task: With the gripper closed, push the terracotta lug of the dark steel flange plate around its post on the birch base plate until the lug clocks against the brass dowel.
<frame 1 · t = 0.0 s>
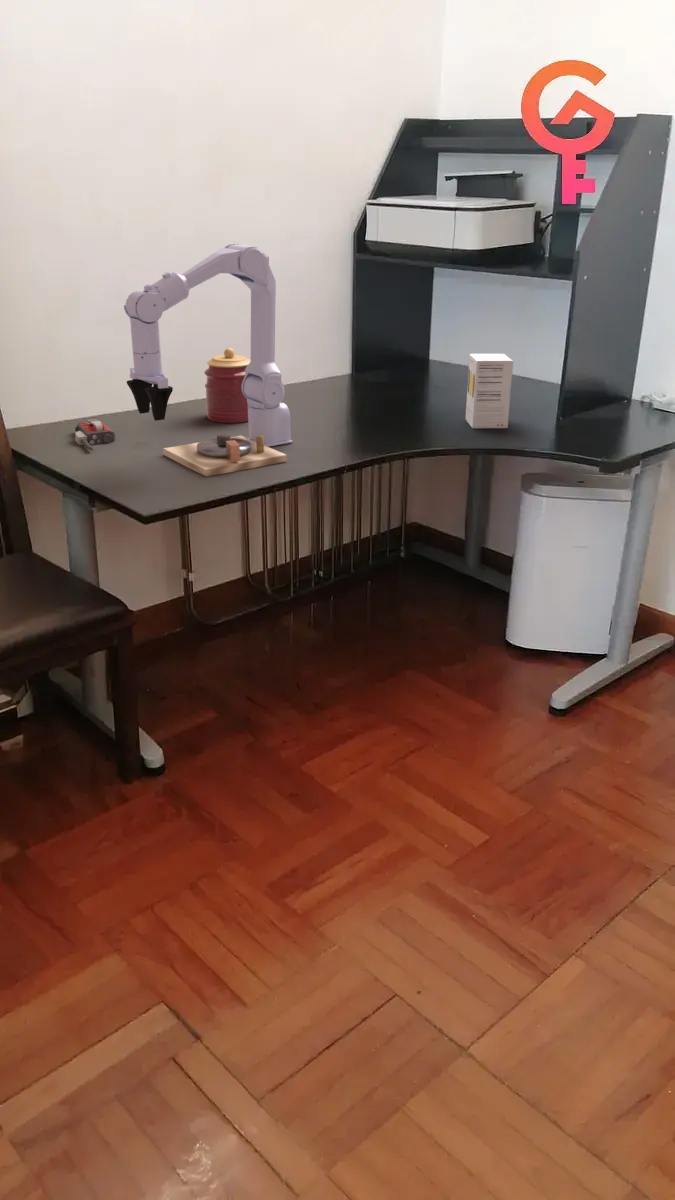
hand: (151, 416, 203), 10 cm above the table, fingers open, 7 cm apart
base plate: (224, 458, 210), on the table
flange: (226, 443, 207), point 4 cm above the table, hinge at 0.0°
supplement box: (486, 424, 240), on the table
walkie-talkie: (95, 443, 223), on the table
canister: (232, 418, 245), on the table
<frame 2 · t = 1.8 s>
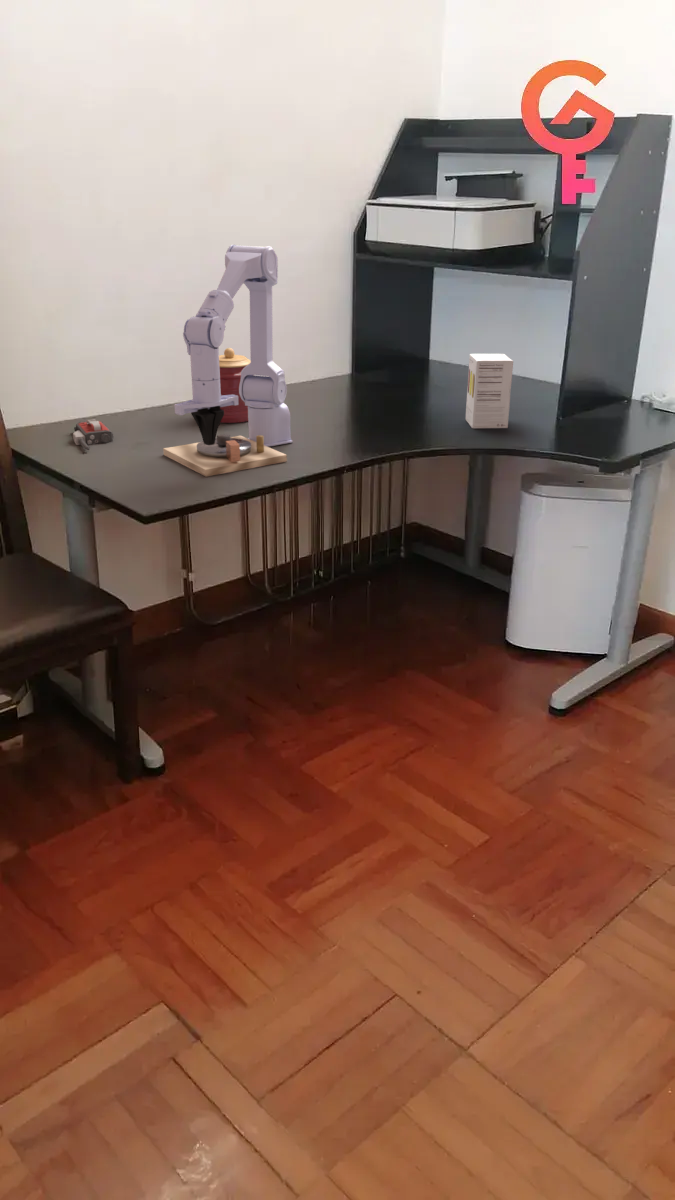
hand: (209, 444, 197), 6 cm above the table, fingers closed
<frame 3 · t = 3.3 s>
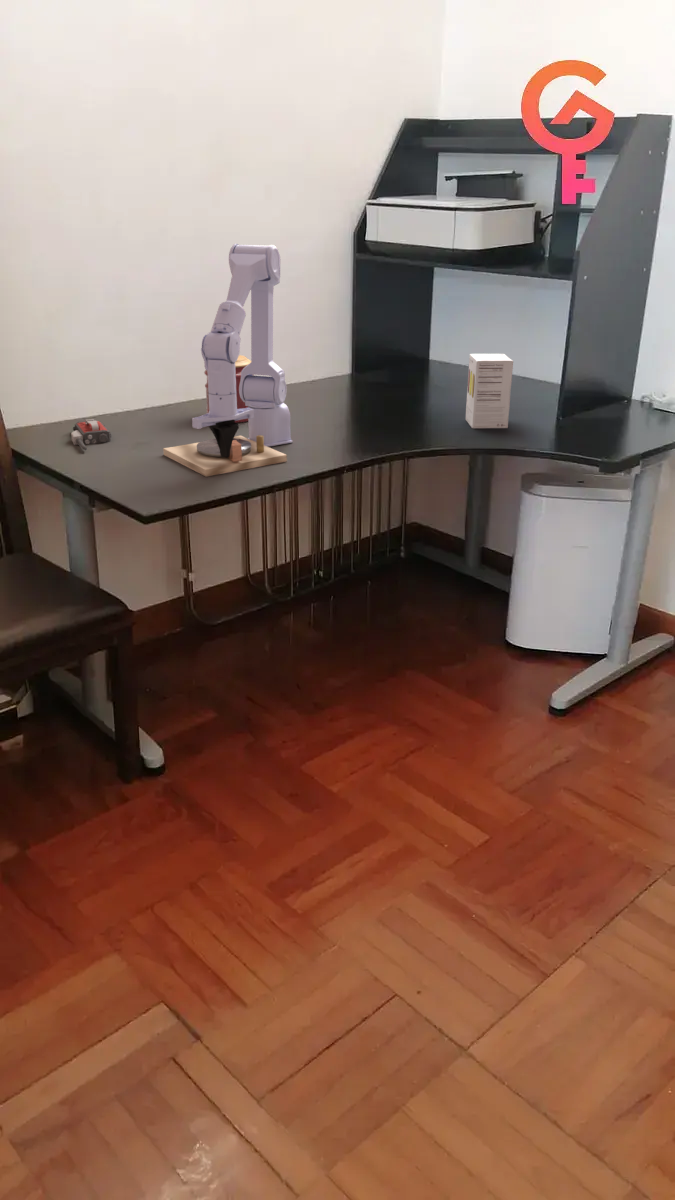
hand: (225, 456, 201), 3 cm above the table, fingers closed
flange: (226, 443, 207), point 4 cm above the table, hinge at 2.3°, touching gripper
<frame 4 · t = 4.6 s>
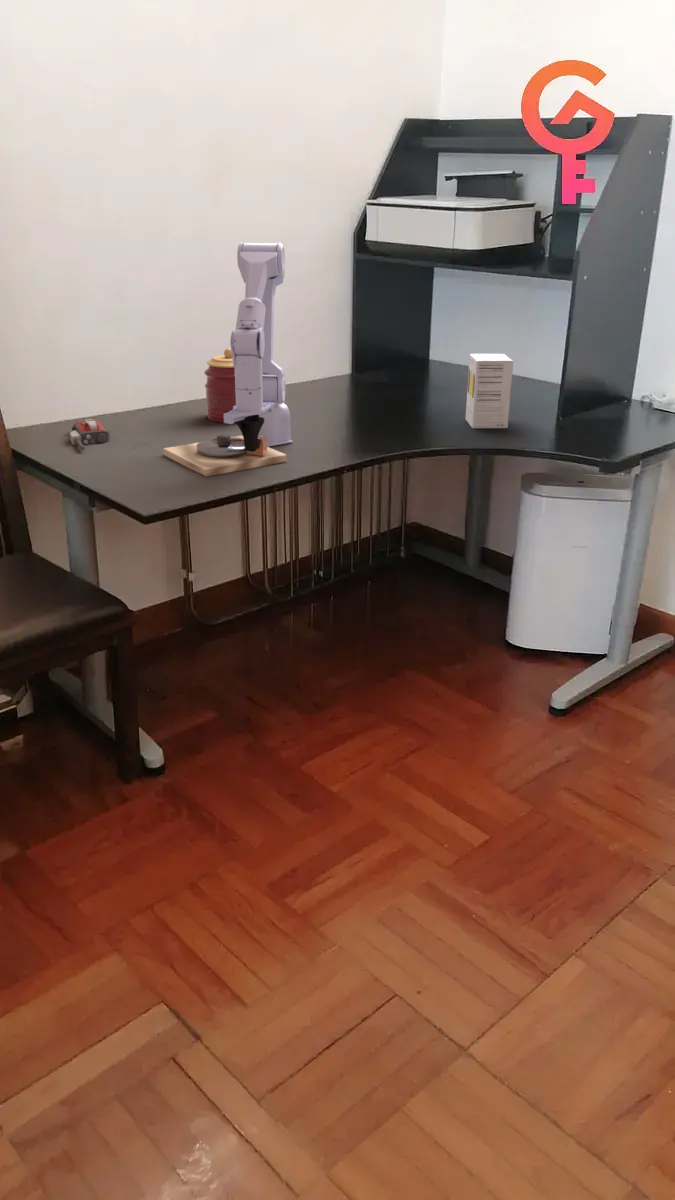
hand: (250, 450, 205), 3 cm above the table, fingers closed, pressing on flange
flange: (231, 442, 208), point 4 cm above the table, hinge at 48.2°, touching gripper
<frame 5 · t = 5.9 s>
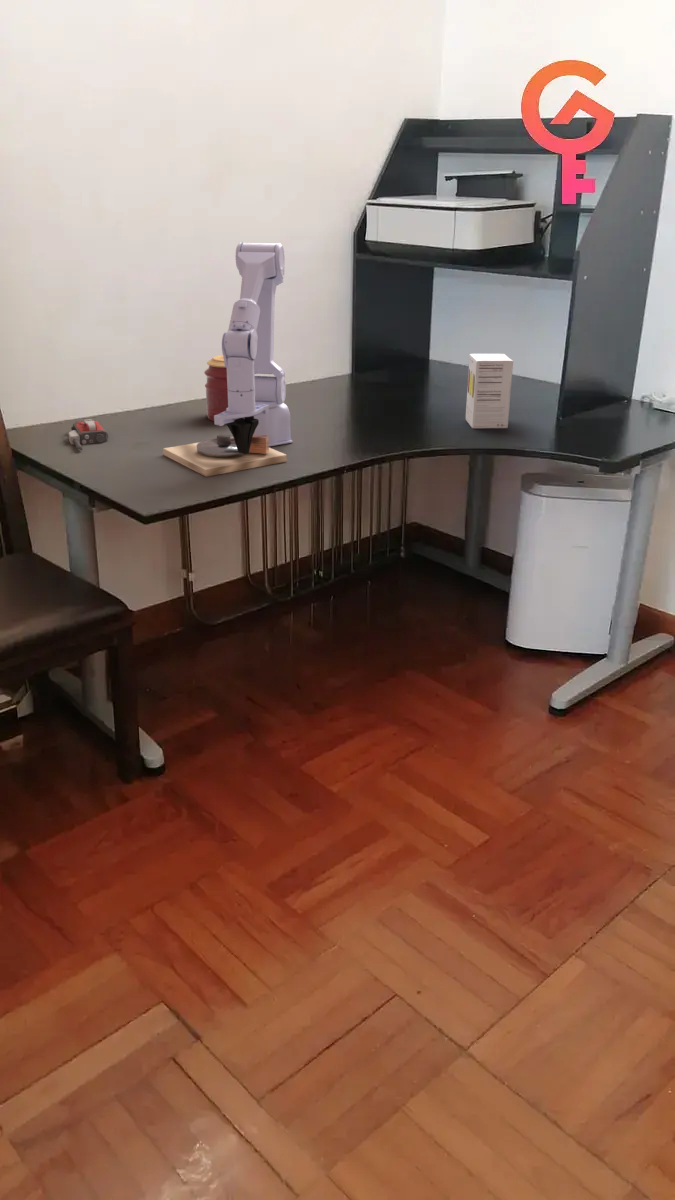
hand: (243, 452, 204), 3 cm above the table, fingers closed
flange: (232, 442, 208), point 4 cm above the table, hinge at 56.9°
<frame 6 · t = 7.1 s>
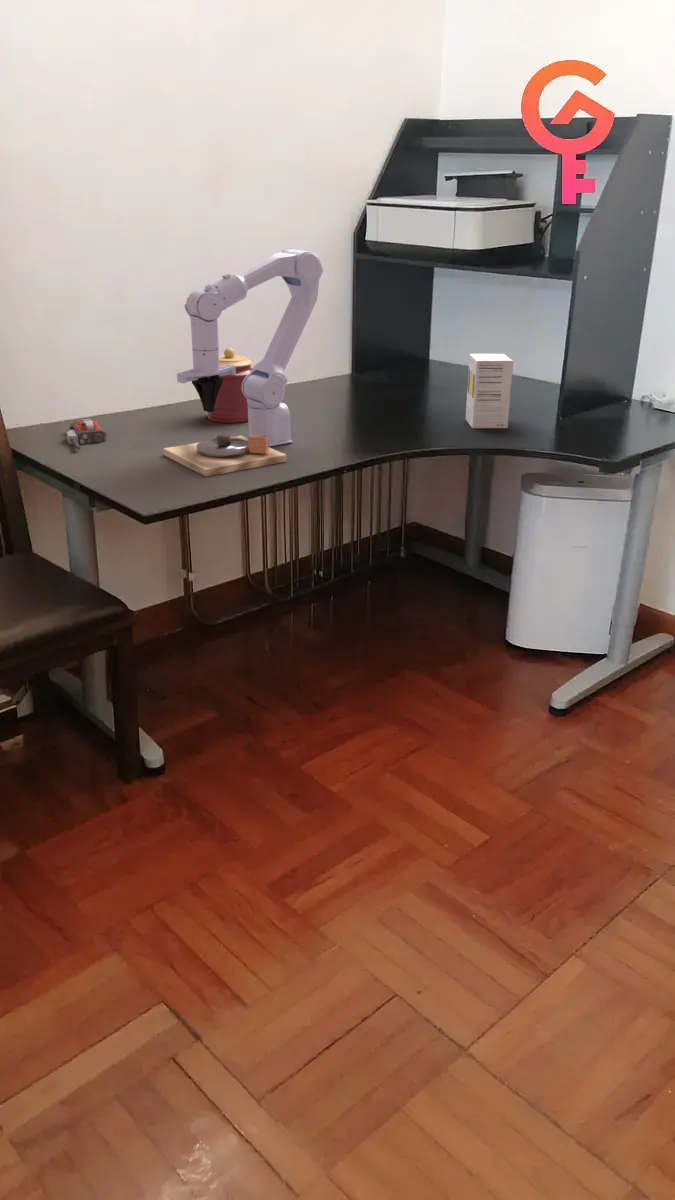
hand: (208, 411, 211), 9 cm above the table, fingers closed
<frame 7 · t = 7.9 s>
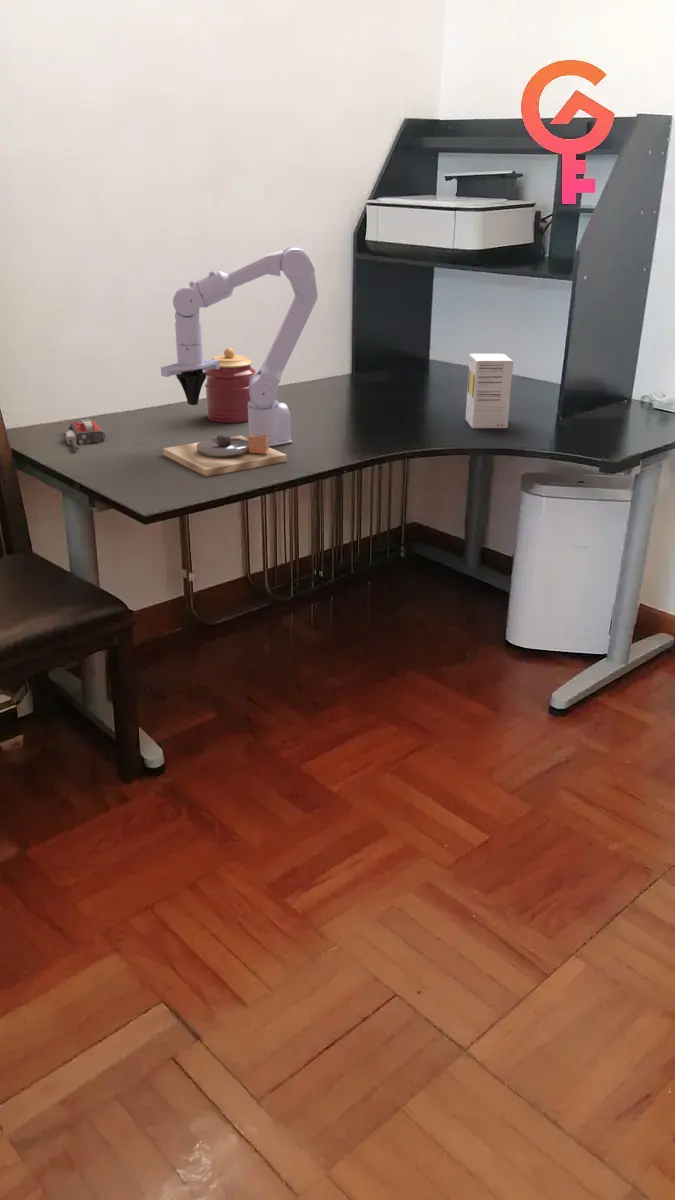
hand: (192, 404, 217), 9 cm above the table, fingers closed
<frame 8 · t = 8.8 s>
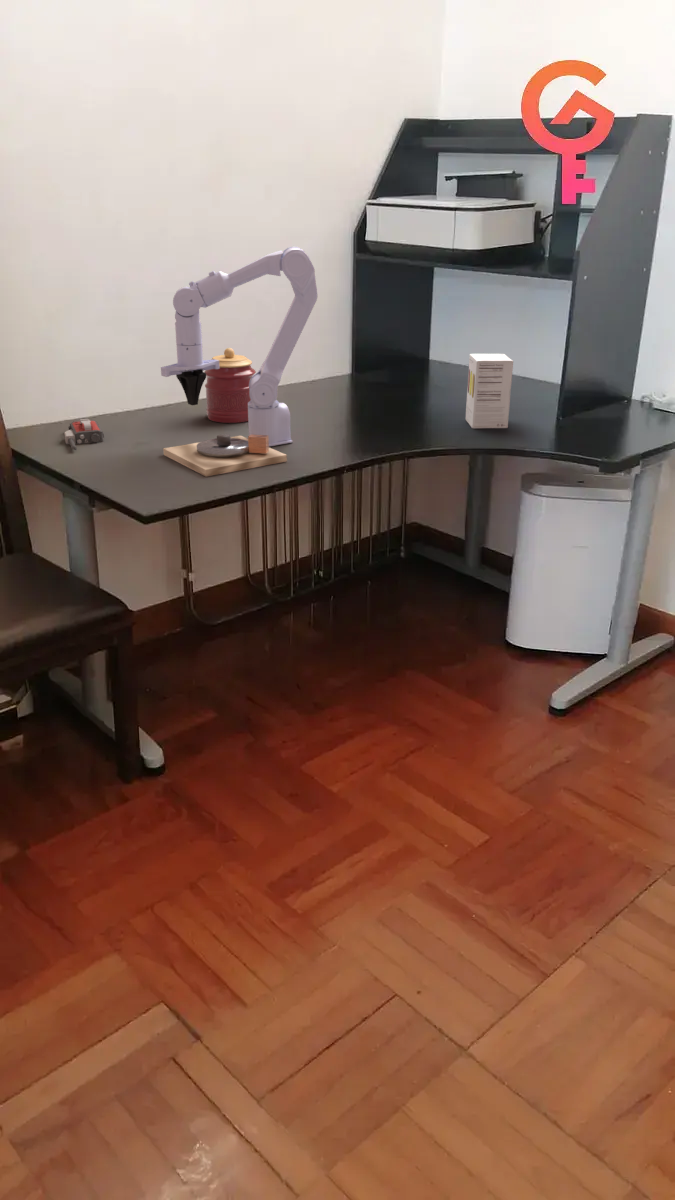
hand: (192, 404, 217), 9 cm above the table, fingers closed
at the end: flange at +57° (first picture: +0°) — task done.
